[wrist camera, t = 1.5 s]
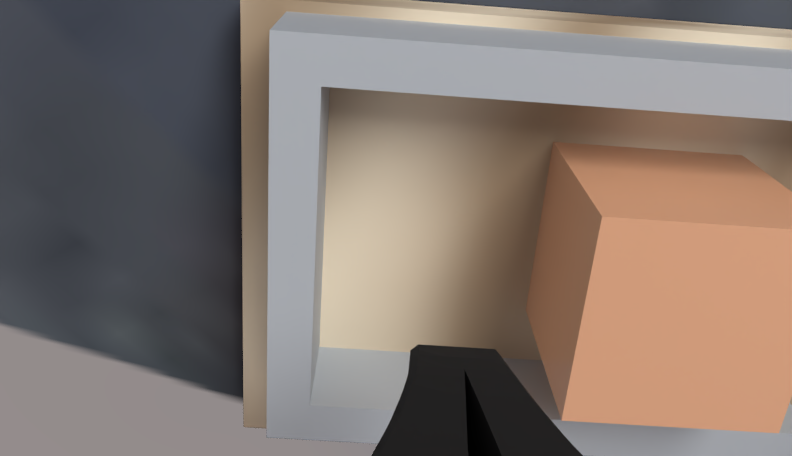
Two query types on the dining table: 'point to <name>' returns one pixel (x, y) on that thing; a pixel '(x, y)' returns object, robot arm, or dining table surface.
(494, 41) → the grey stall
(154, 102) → the dining table surface
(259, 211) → the birch deck
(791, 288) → the terracotta block
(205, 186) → the dining table surface
